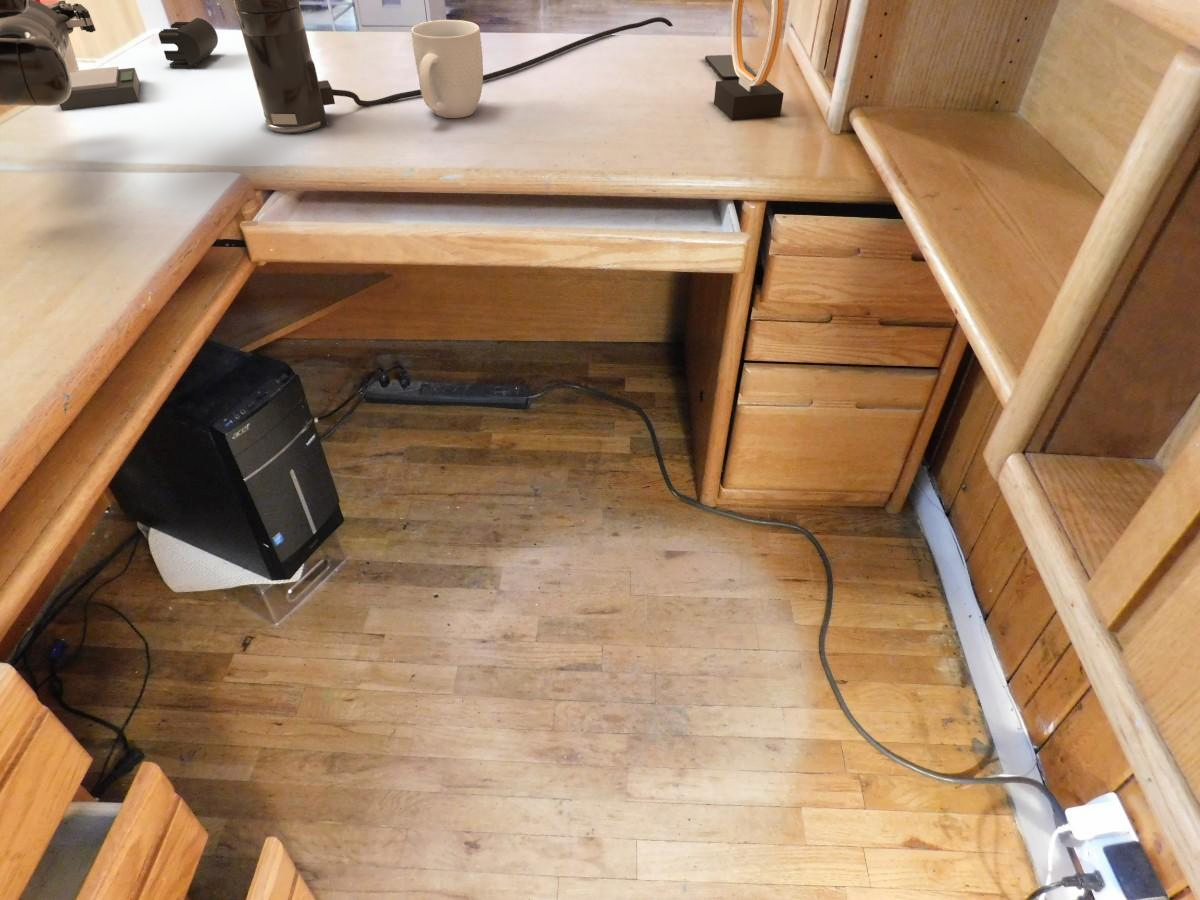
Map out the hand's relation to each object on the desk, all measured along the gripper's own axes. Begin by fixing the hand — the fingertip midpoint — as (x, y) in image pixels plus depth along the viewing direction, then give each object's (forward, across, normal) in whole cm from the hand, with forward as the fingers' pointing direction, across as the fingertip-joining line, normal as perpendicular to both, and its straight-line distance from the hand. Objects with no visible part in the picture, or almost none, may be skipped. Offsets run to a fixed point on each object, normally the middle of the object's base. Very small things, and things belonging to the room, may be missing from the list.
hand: (43, 10), depth 112 cm
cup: (-3, 0, +8) cm, 8 cm away
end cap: (+37, -16, +18) cm, 44 cm away
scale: (+21, 0, +18) cm, 27 cm away
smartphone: (-9, -112, +18) cm, 114 cm away
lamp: (-30, -103, +18) cm, 109 cm away
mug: (-12, -55, +18) cm, 59 cm away
